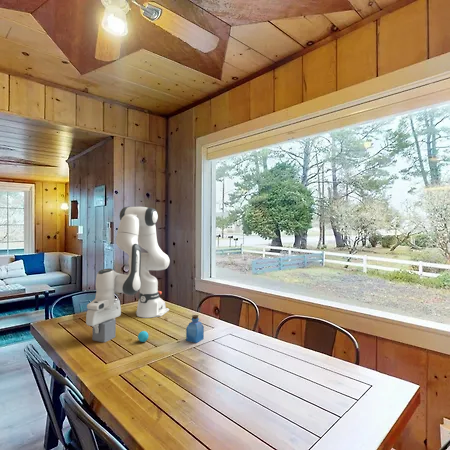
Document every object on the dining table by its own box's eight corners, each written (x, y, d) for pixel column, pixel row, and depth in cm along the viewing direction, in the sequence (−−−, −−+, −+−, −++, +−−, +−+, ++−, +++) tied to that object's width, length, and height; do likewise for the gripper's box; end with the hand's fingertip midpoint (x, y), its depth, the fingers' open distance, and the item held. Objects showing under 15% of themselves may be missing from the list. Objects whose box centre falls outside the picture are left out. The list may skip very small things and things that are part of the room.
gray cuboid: (103, 335, 156) (103, 317, 156) (115, 337, 153) (115, 319, 153) (92, 340, 149) (92, 322, 149) (104, 342, 146) (104, 324, 146)
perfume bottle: (186, 340, 150) (186, 316, 150) (193, 336, 155) (193, 313, 155) (196, 343, 147) (197, 318, 147) (203, 339, 152) (203, 315, 152)
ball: (142, 339, 151) (142, 328, 151) (150, 340, 149) (150, 330, 149) (135, 342, 146) (135, 332, 146) (144, 344, 144) (144, 333, 144)
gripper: (114, 297, 162) (114, 323, 162) (84, 305, 143) (83, 335, 143) (124, 298, 160) (123, 324, 159) (94, 307, 141) (93, 337, 140)
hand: (104, 329), depth 151 cm, fingers open, 8 cm apart
